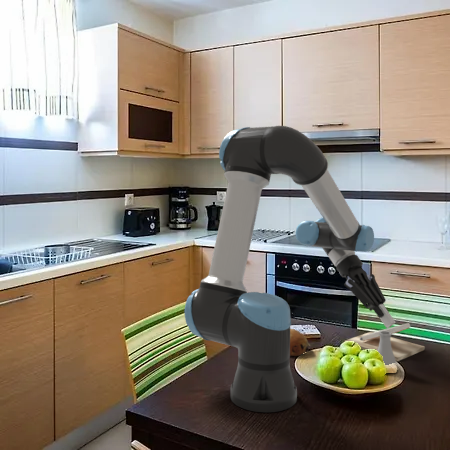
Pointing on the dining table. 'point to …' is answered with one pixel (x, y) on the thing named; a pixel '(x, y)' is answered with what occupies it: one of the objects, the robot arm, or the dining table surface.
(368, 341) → the board
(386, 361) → the flask
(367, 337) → the tile
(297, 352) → the brown rounded lump
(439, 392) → the dining table surface
